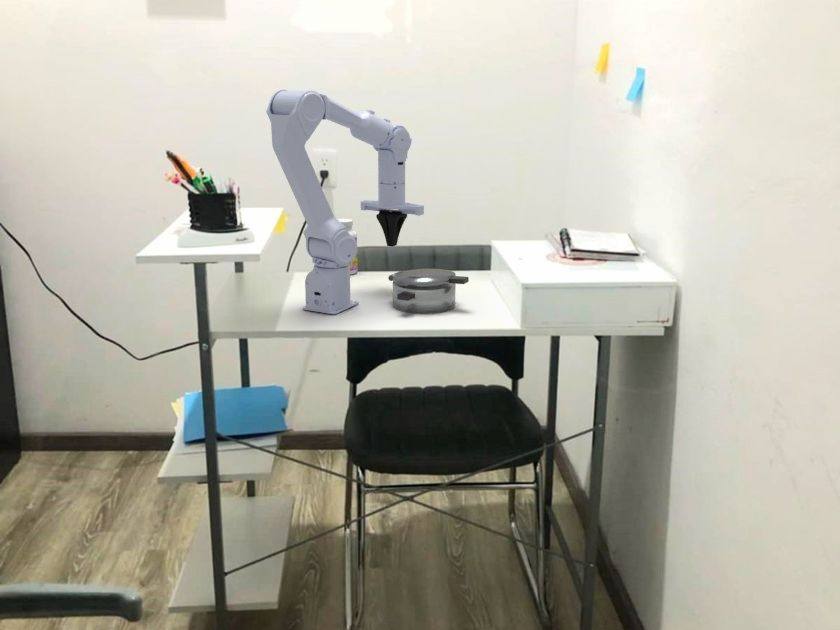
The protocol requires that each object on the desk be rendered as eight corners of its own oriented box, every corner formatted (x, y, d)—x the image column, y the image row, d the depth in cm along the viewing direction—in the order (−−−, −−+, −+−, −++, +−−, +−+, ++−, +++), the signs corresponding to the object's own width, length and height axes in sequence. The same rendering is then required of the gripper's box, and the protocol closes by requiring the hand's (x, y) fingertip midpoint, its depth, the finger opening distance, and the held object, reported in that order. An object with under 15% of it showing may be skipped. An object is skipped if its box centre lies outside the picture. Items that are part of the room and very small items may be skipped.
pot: (431, 320, 158) (432, 296, 157) (374, 311, 164) (374, 288, 163) (470, 298, 174) (471, 276, 173) (417, 291, 180) (417, 269, 179)
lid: (452, 290, 158) (452, 284, 158) (378, 285, 165) (378, 279, 165) (479, 276, 169) (478, 271, 169) (408, 271, 177) (408, 266, 176)
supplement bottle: (356, 276, 193) (355, 222, 189) (328, 276, 193) (326, 222, 189) (358, 269, 199) (358, 217, 196) (331, 269, 199) (330, 217, 196)
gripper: (430, 182, 173) (430, 245, 176) (371, 178, 179) (372, 239, 183) (415, 186, 167) (414, 251, 170) (355, 182, 173) (356, 244, 177)
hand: (391, 245), depth 176 cm, fingers closed
